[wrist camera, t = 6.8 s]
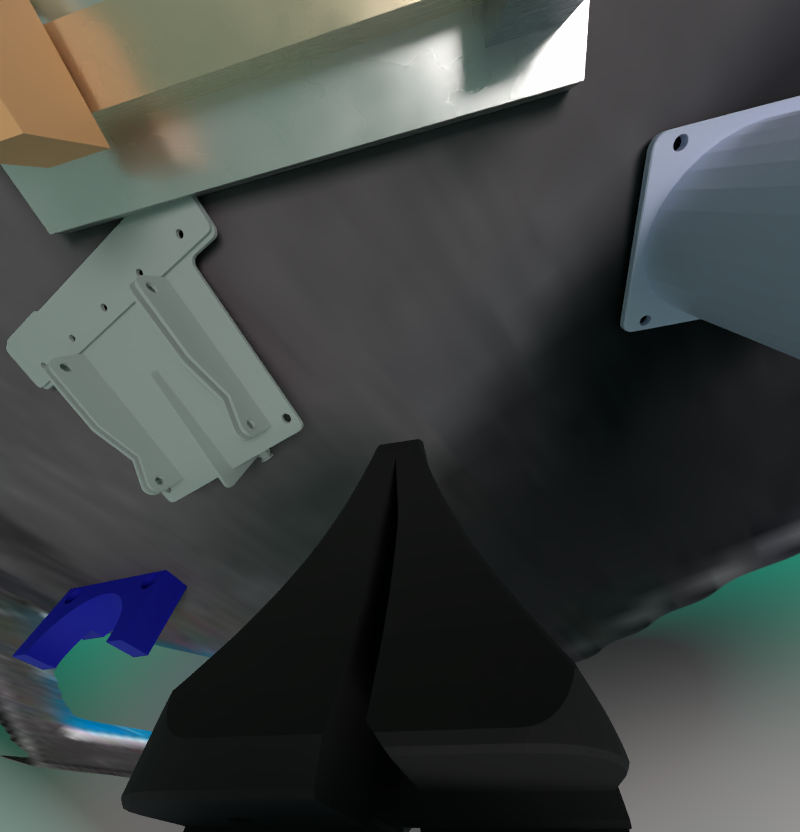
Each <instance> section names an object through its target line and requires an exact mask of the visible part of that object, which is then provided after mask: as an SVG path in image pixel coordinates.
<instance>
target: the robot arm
mask: <svg viewBox="0 0 800 832" xmlns="http://www.w3.org/2000/svg"><path fill="white" fill-rule="evenodd" d="M678 136H680V138H681V144H680V146H679V148H678V149H677V150H676V151H675V150H674V149H673V144H674V141H675V139H676V138H677V137H678ZM643 316H646V319H645V320H644V321H643V322H642V323H640V320H641V318H642V317H643ZM698 319H702V320H705V321H707V322H710V323H712V324H715V325H717V326H720V327H722V328H724V329H727V330H729V331H732V332H734V333H737V334H739V335H742V336H744V337H747V338H749V339H751V340H754V341H756V342H759V343H761V344H764V345H766V346H769V347H771V348H774V349H776V350H778V351H781V352H783V353H786V354H788V355H791V356H793V357H796V358H798V359H800V96H797V97H793V98H789V99H785V100H782V101H778V102H774V103H770V104H766V105H762V106H759V107H755V108H751V109H747V110H743V111H739V112H736V113H732V114H728V115H724V116H720V117H716V118H713V119H709V120H705V121H701V122H697V123H693V124H689V125H686V126H682V127H678V128H674V129H670V130H667V131H663V132H661V133H659V134H657V135H656V136H655V137H654V138H653V139H652V141H651V142H650V144H649V146H648V150H647V155H646V161H645V167H644V174H643V180H642V187H641V193H640V199H639V206H638V212H637V218H636V225H635V231H634V238H633V244H632V250H631V257H630V263H629V270H628V276H627V282H626V289H625V295H624V302H623V308H622V314H621V321H620V326H621V327H622V329H624V330H626V331H628V332H634V331H639V330H645V329H650V328H655V327H661V326H666V325H672V324H677V323H682V322H688V321H693V320H698ZM628 769H629V760H628V757H627V754H626V752H625V749H624V747H623V745H622V743H621V741H620V739H619V737H618V735H617V733H616V731H615V729H614V727H613V725H612V723H611V721H610V719H609V717H608V716H607V714H606V712H605V711H604V709H603V707H602V705H601V704H600V702H599V701H598V699H597V697H596V696H595V694H594V692H593V691H592V689H591V688H590V686H589V685H588V683H587V682H586V680H585V678H584V677H583V675H582V674H581V672H580V671H579V669H578V667H577V666H576V664H575V663H574V662H573V661H572V660H571V659H570V658H569V657H568V655H567V654H566V653H565V652H564V651H563V650H562V649H561V648H560V647H559V646H558V645H557V644H556V643H555V642H554V641H553V640H552V639H551V638H550V636H549V635H548V634H547V633H546V632H545V631H544V630H543V629H542V628H541V627H540V626H539V624H538V623H537V622H536V621H535V620H534V619H533V618H532V617H531V616H530V614H529V613H528V612H527V611H526V610H525V609H524V608H523V606H522V605H521V604H520V603H519V602H518V601H517V600H516V598H515V597H514V596H513V595H512V594H511V593H510V591H509V590H508V589H507V588H506V586H505V585H504V584H503V583H502V581H501V580H500V579H499V578H498V576H497V575H496V574H495V573H494V571H493V570H492V569H491V568H490V566H489V565H488V564H487V563H486V561H485V560H484V559H483V557H482V556H481V555H480V553H479V552H478V551H477V549H476V548H475V546H474V545H473V544H472V542H471V541H470V539H469V538H468V536H467V535H466V533H465V532H464V531H463V529H462V528H461V526H460V524H459V523H458V521H457V520H456V518H455V517H454V515H453V513H452V512H451V510H450V508H449V506H448V505H447V503H446V501H445V499H444V498H443V496H442V494H441V492H440V490H439V488H438V486H437V484H436V482H435V480H434V478H433V476H432V473H431V471H430V469H429V466H428V463H427V458H426V454H425V449H424V445H423V441H421V440H419V439H416V440H410V441H403V442H396V443H390V444H383V445H379V446H378V448H377V449H376V451H375V453H374V455H373V457H372V459H371V461H370V463H369V465H368V467H367V469H366V471H365V473H364V474H363V476H362V478H361V480H360V482H359V483H358V485H357V487H356V488H355V490H354V492H353V494H352V495H351V497H350V499H349V500H348V502H347V503H346V505H345V507H344V508H343V510H342V511H341V513H340V514H339V516H338V517H337V519H336V520H335V522H334V523H333V525H332V526H331V528H330V529H329V530H328V532H327V533H326V535H325V536H324V537H323V539H322V540H321V541H320V543H319V544H318V545H317V547H316V548H315V549H314V550H313V552H312V553H311V554H310V555H309V557H308V558H307V559H306V560H305V562H304V563H303V564H302V565H301V566H300V567H299V569H298V570H297V571H296V572H295V573H294V575H293V576H292V577H291V578H290V579H289V580H288V581H287V583H286V584H285V585H284V586H283V587H282V588H281V589H280V590H279V591H278V593H277V594H276V595H275V596H274V597H273V598H272V599H271V600H270V601H269V602H268V603H267V604H266V605H265V606H264V607H263V608H262V609H261V610H260V611H259V612H258V613H257V614H256V615H255V616H254V617H253V618H252V619H251V620H250V621H249V622H248V623H247V624H246V625H245V626H244V627H243V628H242V629H241V630H240V631H239V632H238V633H237V634H236V635H235V636H234V637H233V638H232V639H231V640H230V641H228V642H227V643H226V644H225V645H224V646H223V647H222V648H221V649H220V650H219V651H217V652H216V653H215V654H214V655H213V656H212V657H211V658H210V659H208V660H207V661H206V662H205V663H204V664H203V665H202V666H201V667H200V668H198V669H197V670H196V671H195V672H194V673H193V674H192V675H191V676H190V677H188V678H187V679H186V680H185V681H184V682H183V683H182V684H180V685H179V686H178V687H177V688H176V689H174V690H173V692H172V694H171V695H170V697H169V699H168V701H167V703H166V705H165V707H164V709H163V711H162V713H161V715H160V717H159V719H158V721H157V723H156V725H155V727H154V730H153V732H152V734H151V736H150V738H149V740H148V742H147V744H146V746H145V748H144V750H143V753H142V755H141V757H140V759H139V761H138V763H137V765H136V767H135V769H134V771H133V773H132V776H131V778H130V780H129V782H128V784H127V786H126V788H125V790H124V792H123V794H122V797H121V801H122V805H123V808H124V809H125V810H127V811H129V812H132V813H136V814H138V815H142V816H146V817H150V818H154V819H158V820H163V821H166V822H171V823H175V824H179V825H183V826H185V829H184V831H183V832H409V831H410V829H411V828H420V829H421V832H629V829H631V828H632V827H631V823H630V819H629V816H628V813H627V810H626V807H625V805H624V802H623V799H622V796H621V793H620V791H619V788H618V786H619V784H620V783H621V782H622V781H623V779H624V778H625V777H626V775H627V772H628Z"/></svg>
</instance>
